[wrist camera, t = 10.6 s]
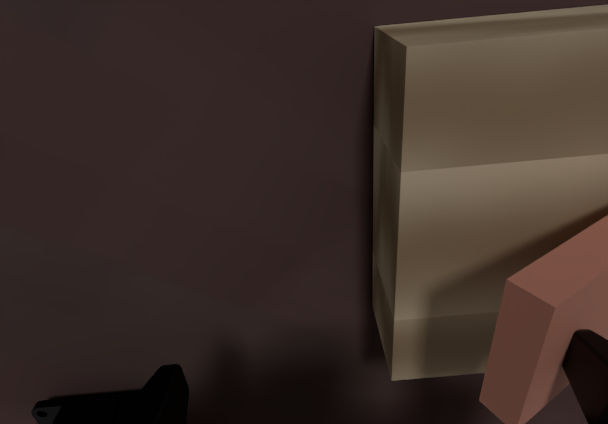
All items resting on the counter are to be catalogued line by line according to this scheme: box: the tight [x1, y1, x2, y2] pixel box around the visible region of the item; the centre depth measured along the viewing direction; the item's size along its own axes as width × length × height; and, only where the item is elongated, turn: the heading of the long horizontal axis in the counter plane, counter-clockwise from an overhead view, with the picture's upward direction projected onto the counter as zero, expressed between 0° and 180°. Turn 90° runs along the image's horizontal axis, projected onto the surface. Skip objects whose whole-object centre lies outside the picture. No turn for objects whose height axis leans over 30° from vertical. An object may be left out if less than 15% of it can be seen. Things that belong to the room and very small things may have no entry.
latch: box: [479, 215, 608, 424], centre depth 10 cm, size 7×4×1 cm, turn 95°
